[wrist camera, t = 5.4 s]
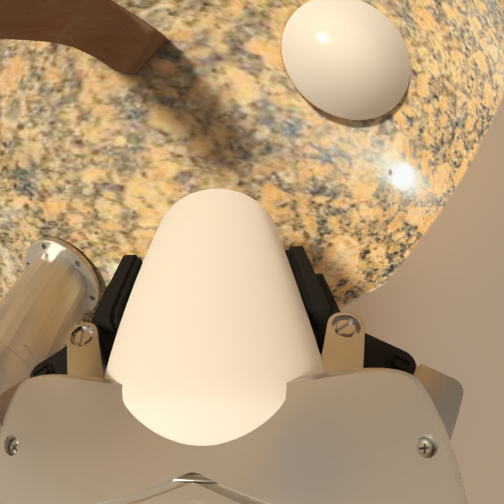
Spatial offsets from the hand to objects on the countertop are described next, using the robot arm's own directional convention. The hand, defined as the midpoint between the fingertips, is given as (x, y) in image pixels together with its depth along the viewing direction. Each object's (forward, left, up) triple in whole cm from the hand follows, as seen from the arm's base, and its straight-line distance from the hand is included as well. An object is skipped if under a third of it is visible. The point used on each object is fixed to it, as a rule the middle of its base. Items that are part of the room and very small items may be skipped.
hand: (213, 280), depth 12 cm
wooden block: (+15, +9, -16) cm, 24 cm away
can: (0, 0, -3) cm, 3 cm away
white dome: (+12, -12, -16) cm, 23 cm away
